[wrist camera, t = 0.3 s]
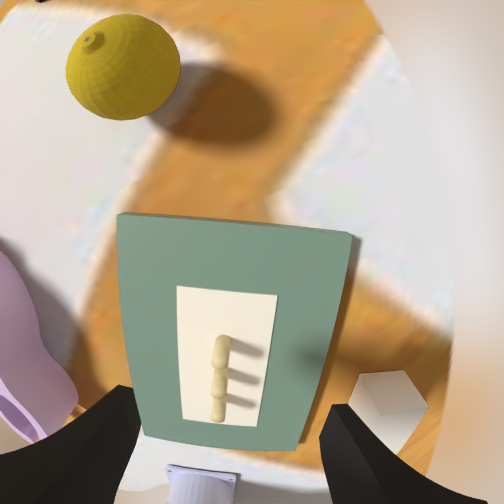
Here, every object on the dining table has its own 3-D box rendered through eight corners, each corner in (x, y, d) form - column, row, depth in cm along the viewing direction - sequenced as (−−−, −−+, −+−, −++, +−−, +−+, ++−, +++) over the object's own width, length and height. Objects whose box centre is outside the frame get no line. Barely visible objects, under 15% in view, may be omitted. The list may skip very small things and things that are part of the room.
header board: (293, 441, 22) (297, 471, 18) (147, 426, 21) (137, 454, 18) (346, 231, 17) (369, 245, 13) (124, 212, 16) (96, 221, 13)
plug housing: (355, 458, 23) (365, 491, 18) (319, 462, 23) (326, 497, 18) (403, 369, 20) (428, 406, 15) (359, 373, 20) (380, 415, 15)
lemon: (190, 44, 14) (153, -28, 6) (197, 120, 15) (152, 74, 7) (112, 66, 14) (45, 21, 6) (114, 139, 15) (32, 122, 7)
